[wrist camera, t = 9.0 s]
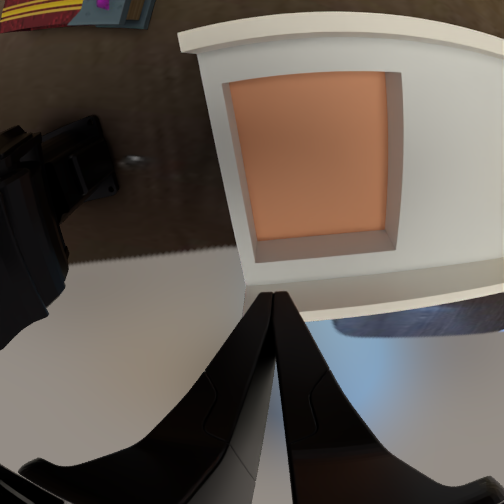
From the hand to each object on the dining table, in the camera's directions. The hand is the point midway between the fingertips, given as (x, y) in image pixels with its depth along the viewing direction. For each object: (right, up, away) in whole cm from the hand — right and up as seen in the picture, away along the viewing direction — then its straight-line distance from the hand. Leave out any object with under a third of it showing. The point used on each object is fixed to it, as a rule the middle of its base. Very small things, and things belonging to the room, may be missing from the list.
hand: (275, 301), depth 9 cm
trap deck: (+18, +9, +8) cm, 21 cm away
